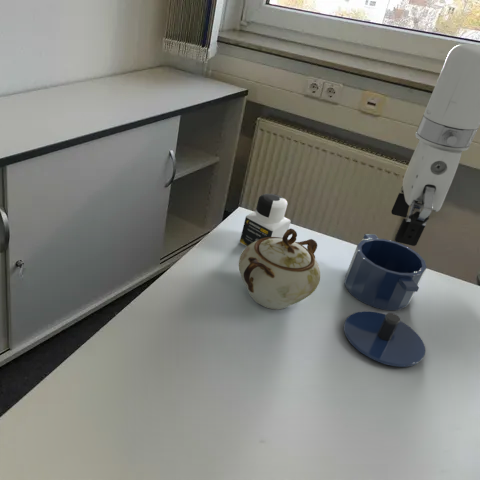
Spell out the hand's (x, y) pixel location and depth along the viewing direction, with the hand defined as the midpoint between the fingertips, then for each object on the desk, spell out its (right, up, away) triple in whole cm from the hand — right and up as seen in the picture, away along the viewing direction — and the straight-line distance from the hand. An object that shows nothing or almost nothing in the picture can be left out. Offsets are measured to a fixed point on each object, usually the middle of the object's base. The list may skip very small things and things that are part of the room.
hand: (402, 228), depth 90 cm
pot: (+5, -12, +20) cm, 24 cm away
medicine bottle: (-16, -3, +31) cm, 35 cm away
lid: (0, -20, +6) cm, 21 cm away
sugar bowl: (-18, -13, +15) cm, 27 cm away
